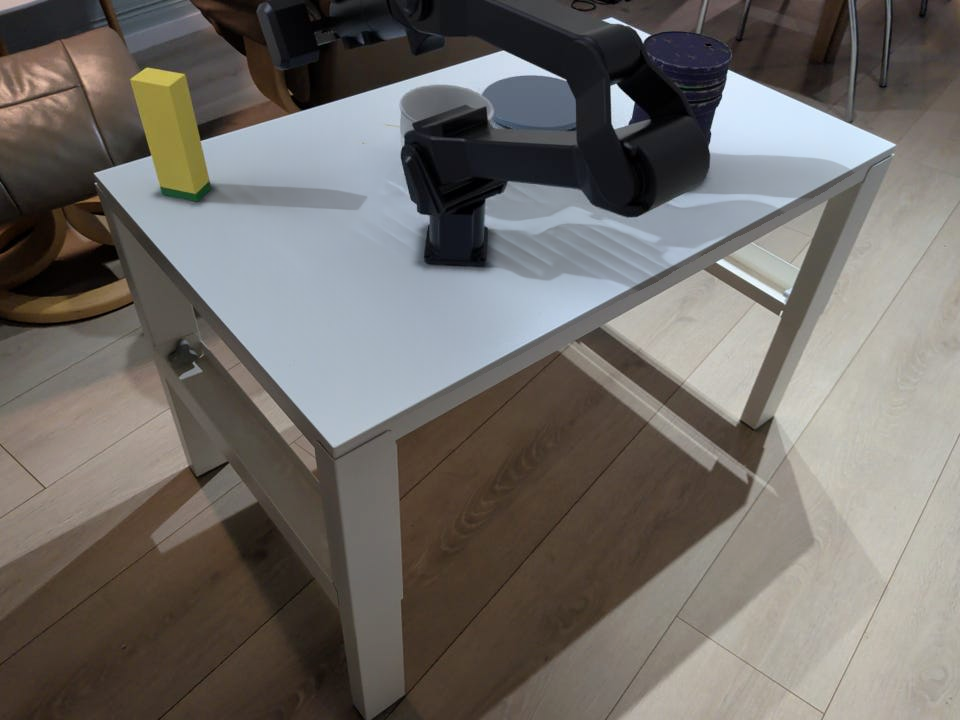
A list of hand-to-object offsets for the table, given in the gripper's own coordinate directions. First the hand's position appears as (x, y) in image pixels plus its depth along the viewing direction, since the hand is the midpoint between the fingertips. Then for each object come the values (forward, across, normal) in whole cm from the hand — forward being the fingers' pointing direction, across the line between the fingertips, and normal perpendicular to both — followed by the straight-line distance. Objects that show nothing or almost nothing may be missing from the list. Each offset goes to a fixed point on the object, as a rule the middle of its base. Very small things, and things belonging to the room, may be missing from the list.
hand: (315, 27), depth 88 cm
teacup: (-4, -8, +19) cm, 21 cm away
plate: (0, -28, +17) cm, 33 cm away
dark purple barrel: (-19, -30, +25) cm, 44 cm away
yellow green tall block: (+8, +18, +13) cm, 23 cm away
